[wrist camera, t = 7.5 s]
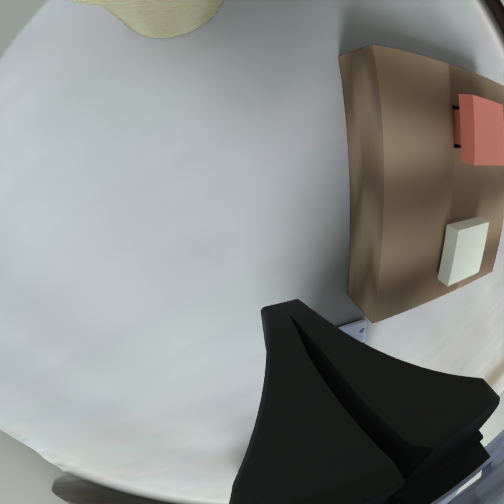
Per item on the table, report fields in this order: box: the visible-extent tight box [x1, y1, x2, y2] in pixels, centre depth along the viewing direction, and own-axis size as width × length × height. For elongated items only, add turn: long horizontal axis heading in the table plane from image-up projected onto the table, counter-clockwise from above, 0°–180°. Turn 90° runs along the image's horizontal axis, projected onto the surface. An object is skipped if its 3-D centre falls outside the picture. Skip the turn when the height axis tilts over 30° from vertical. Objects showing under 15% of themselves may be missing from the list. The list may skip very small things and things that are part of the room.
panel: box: [339, 44, 504, 323], centre depth 18 cm, size 18×16×4 cm
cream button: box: [438, 217, 489, 286], centre depth 19 cm, size 4×4×5 cm
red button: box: [453, 94, 504, 165], centre depth 14 cm, size 4×4×5 cm
